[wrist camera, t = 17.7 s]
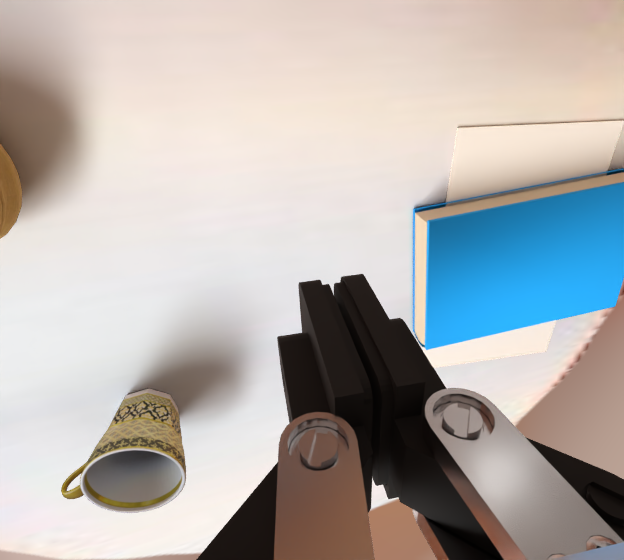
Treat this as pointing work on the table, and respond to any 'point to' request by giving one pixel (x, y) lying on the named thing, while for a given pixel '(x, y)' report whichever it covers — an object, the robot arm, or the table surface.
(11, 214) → the pot
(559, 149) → the mat
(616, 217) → the book
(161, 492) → the ceramic cup
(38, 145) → the table surface
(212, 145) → the table surface
